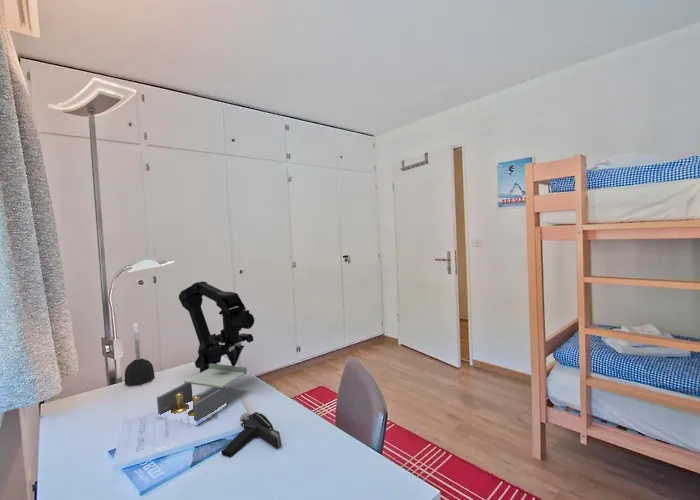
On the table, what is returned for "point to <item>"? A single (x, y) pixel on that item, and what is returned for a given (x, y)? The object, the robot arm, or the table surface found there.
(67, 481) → the table surface
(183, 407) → the brass door knob
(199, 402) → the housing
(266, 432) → the toy gun
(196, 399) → the brass knob
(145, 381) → the black plunger
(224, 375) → the lid
